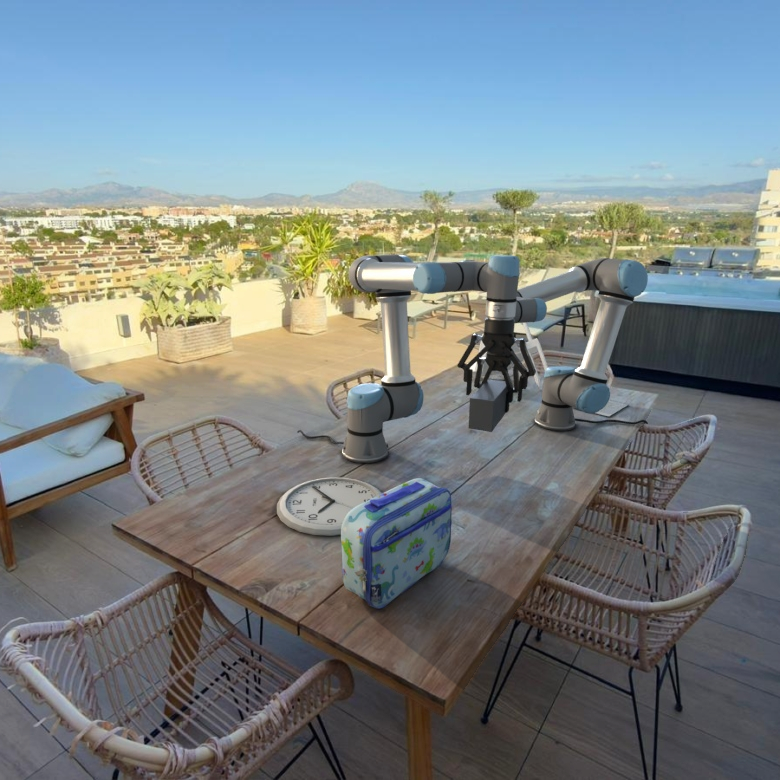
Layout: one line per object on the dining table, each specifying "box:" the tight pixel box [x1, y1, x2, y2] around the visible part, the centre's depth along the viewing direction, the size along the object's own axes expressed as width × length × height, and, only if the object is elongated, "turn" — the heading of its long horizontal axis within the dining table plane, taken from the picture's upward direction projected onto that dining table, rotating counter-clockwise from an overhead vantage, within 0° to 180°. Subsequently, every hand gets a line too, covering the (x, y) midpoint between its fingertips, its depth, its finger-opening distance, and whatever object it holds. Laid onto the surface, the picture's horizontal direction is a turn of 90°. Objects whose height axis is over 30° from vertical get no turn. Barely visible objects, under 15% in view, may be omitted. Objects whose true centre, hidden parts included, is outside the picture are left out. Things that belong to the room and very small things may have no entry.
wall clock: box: [276, 476, 383, 537], centre depth 142 cm, size 30×2×30 cm
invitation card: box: [595, 399, 629, 418], centre depth 226 cm, size 21×1×15 cm
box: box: [468, 379, 508, 433], centre depth 167 cm, size 22×7×10 cm, turn 155°
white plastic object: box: [466, 322, 549, 391], centre depth 258 cm, size 37×45×31 cm
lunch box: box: [340, 477, 452, 610], centre depth 110 cm, size 26×11×21 cm, turn 134°
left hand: (493, 397), depth 140 cm, fingers open, 13 cm apart
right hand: (495, 409), depth 175 cm, fingers closed on box, 7 cm apart
